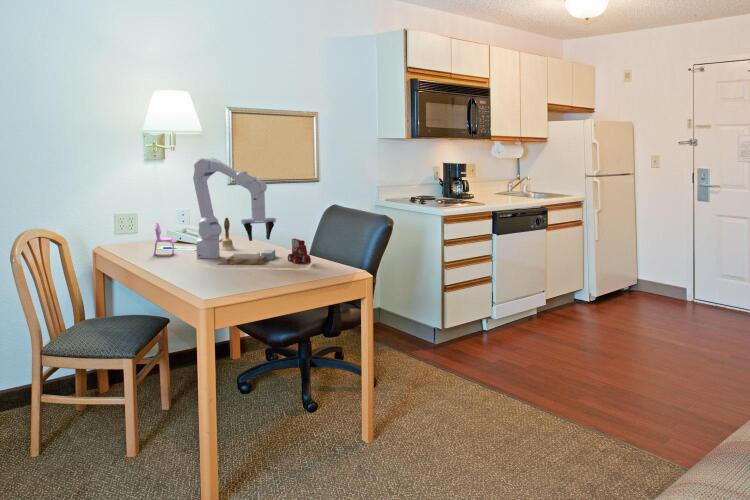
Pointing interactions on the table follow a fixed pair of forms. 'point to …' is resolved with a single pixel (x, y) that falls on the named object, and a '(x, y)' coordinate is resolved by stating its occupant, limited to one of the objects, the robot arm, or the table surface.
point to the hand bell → (227, 238)
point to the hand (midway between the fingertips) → (259, 239)
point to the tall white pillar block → (247, 255)
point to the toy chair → (161, 238)
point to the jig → (244, 261)
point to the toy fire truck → (299, 252)
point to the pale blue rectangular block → (268, 254)
